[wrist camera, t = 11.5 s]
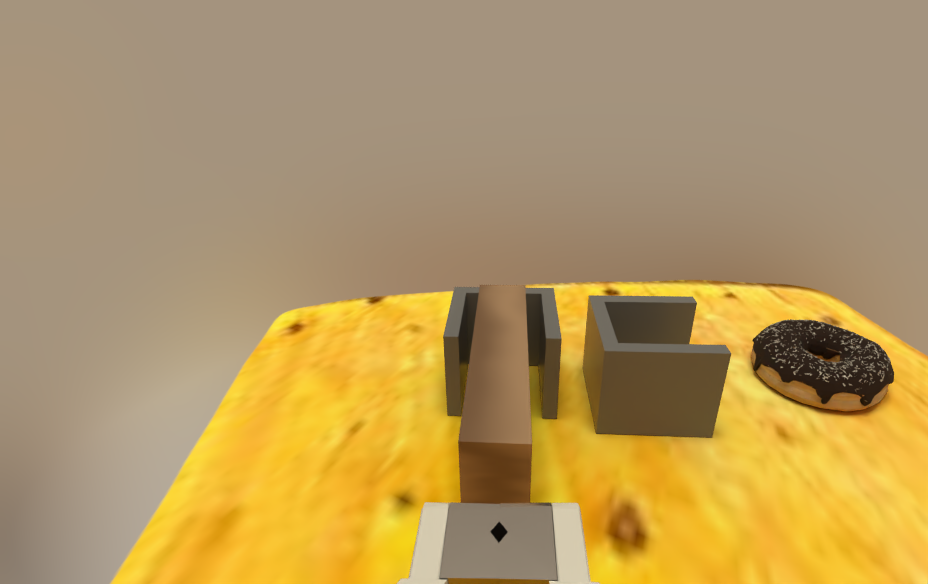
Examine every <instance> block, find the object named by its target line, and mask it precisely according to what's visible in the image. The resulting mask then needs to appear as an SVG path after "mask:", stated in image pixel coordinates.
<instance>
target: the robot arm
mask: <svg viewBox="0 0 928 584" xmlns="http://www.w3.org/2000/svg"><path fill="white" fill-rule="evenodd" d="M397 584H600V583H599V582H590V575H589V568H588V561H587V554H586V547H585V540H584V533H583V526H582V519H581V512H580V507H579V505H578V503H552V504H551V503H500V504H482V503H431V502H425V504H424V506H423V508H422V511H421V516H420V522H419V527H418V532H417V537H416V543H415V548H414V553H413V558H412V564H411V569H410V574H409V579H400V580H399V581H398V583H397Z"/></svg>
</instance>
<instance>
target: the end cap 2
mask: <svg viewBox="0 0 928 584" xmlns="http://www.w3.org/2000/svg"><path fill="white" fill-rule="evenodd" d="M696 305H697V302H696V301H695V299H694V298H693V297H667V296H589V299H588V311H587V323H586V335H585V347H584V359H583V372H584V377H585V382H586V387H587V392H588V397H589V401H590V406H591V411H592V416H593V421H594V426H595V430H596V434H625V435H655V436H684V437H712V435H713V431H714V426H715V422H716V418H717V413H718V409H719V405H720V400H721V396H722V392H723V387H724V383H725V378H726V374H727V370H728V365H729V361H730V357H731V353H730V351H729V350H728V348H727V347H726V345H694V344H689V342H690V337H691V332H692V326H693V321H694V315H695V310H696Z"/></svg>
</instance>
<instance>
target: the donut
mask: <svg viewBox="0 0 928 584" xmlns="http://www.w3.org/2000/svg"><path fill="white" fill-rule="evenodd" d="M753 342H754V344H753V349H752V364H753V366H754V370H755V371H756V372H757V374H758V376H759V377H760V378H761V379H763V380H764V381H765V382H766V383H767V384H768V385H769V386H770V387H772V388H774V389H775V390H777V391H778V392H780V393H782V394H783V395H785V396H787V397H789V398H792V399H794V400H796V401H798V402H801V403H803V404H807V405H811V406H815V407H819V408H824V409H831V410H840V411H855V410H863V409H866V408H868V407H871V406H873V405H875V404H877V403H878V402H880V401H881V399H882V398H883V397H884V395H885V394H886V393H887V390H888V385H889V384H892V383H893V380H894V371H893V368H892V365H891V362H890V358H889V357H888V356H887V354H886V352H885V351H884V350H883V349H882V348H881V347H880V345H878V344H877V343H876V342H873V341H871V340H868V339H866V338H865V337H863V336H860V335H858V334H856V333H854V332H850V331H848V330H845V329H842V328H839V327H836V326H833V325H831V324H826V323H824V322H818V321H814V320H813V321H812V320H791V319H790V320H784V321H781V322H777V323H775V324H772V325H770V326H769V327H767V328H765V329H764V330H763V331H761V332H760V333H759V334H758V335H757V336H756V337H755V338H754V339H753Z"/></svg>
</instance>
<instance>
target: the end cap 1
mask: <svg viewBox="0 0 928 584" xmlns="http://www.w3.org/2000/svg"><path fill="white" fill-rule="evenodd" d="M479 288H480V287H455V288H454V292H453V297H452V301H451V305H450V310H449V314H448V319H447V323H446V327H445V332H444V336H443V338H444V357H445V376H446V395H447V414H448V415H451V416H461V414H462V407H463V399H464V392H465V384H466V377H467V370H468V364H469V361H470V353H471V346H472V339H473V332H474V324H475V317H476V310H477V303H478V295H479ZM525 289H526V314H527V338H528V362H529V366H538V367H539V380H540V393H541V406H542V418H547V419H557V403H558V387H559V371H560V354H561V333H560V326H559V320H558V314H557V307H556V301H555V295H554V288H525Z"/></svg>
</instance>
